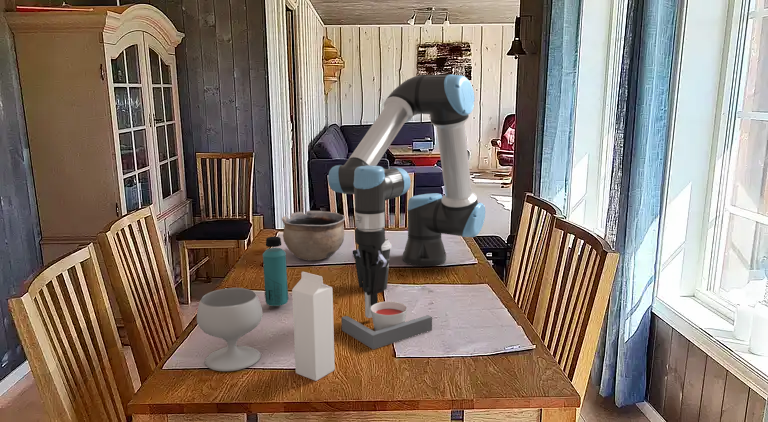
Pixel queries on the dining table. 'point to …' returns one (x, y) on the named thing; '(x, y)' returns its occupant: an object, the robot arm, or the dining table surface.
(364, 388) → the dining table surface
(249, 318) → the chalice
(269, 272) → the beverage bottle
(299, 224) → the ceramic bowl
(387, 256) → the coffee cup
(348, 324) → the corner fence
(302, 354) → the milk
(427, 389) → the dining table surface
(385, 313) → the candle
